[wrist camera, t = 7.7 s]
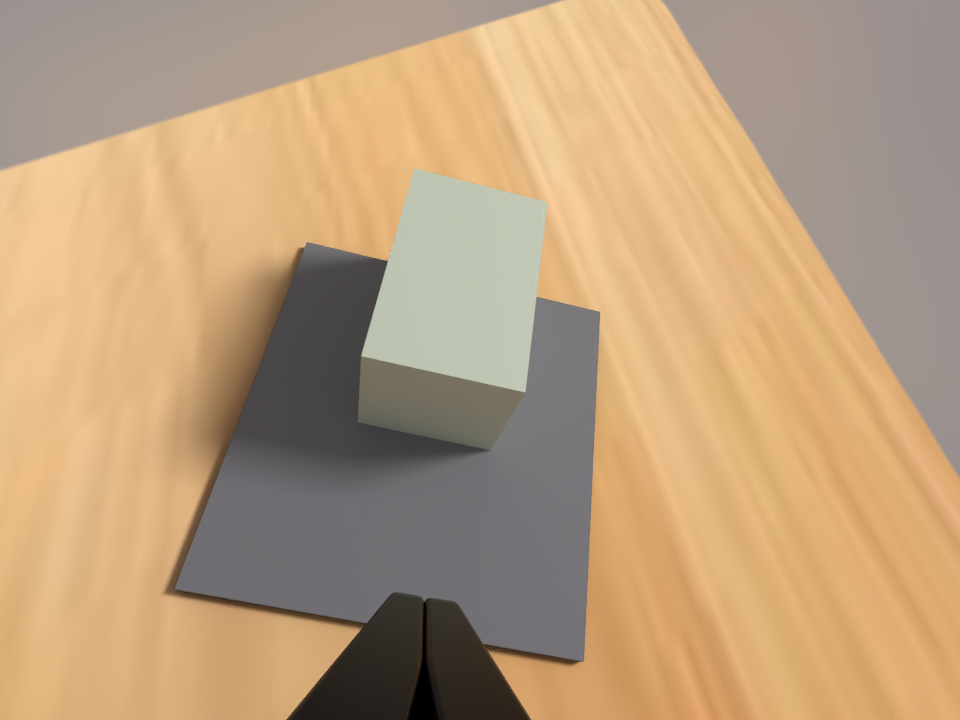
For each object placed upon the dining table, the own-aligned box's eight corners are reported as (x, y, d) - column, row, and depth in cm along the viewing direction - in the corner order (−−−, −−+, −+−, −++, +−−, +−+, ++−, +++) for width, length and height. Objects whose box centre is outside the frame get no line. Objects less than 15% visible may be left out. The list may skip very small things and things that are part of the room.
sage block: (525, 392, 18) (547, 202, 22) (361, 355, 17) (414, 168, 22) (490, 450, 22) (514, 282, 26) (357, 422, 22) (402, 255, 26)
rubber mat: (580, 661, 20) (583, 661, 19) (176, 590, 18) (174, 588, 18) (597, 315, 27) (599, 312, 26) (307, 246, 25) (306, 242, 25)
